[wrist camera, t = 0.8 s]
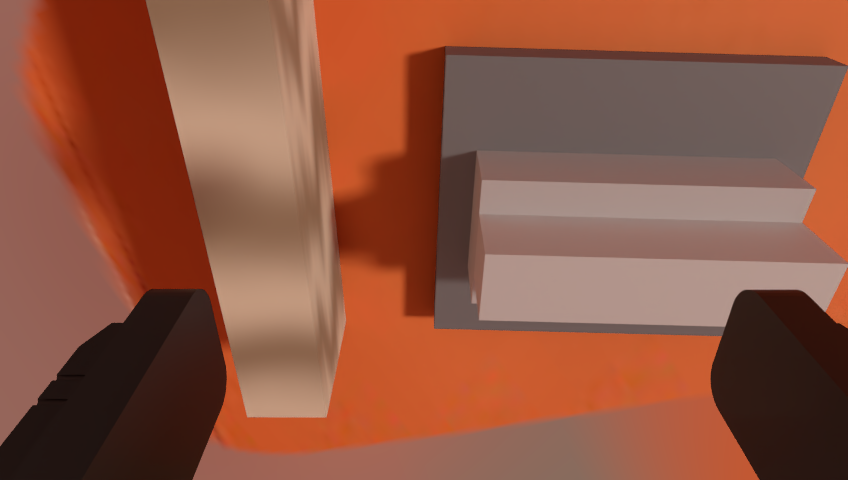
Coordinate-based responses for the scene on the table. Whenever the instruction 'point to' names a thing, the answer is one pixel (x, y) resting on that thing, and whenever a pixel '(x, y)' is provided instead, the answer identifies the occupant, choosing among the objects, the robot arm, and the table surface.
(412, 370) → the table surface
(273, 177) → the ash bar
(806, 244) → the ridge stand
